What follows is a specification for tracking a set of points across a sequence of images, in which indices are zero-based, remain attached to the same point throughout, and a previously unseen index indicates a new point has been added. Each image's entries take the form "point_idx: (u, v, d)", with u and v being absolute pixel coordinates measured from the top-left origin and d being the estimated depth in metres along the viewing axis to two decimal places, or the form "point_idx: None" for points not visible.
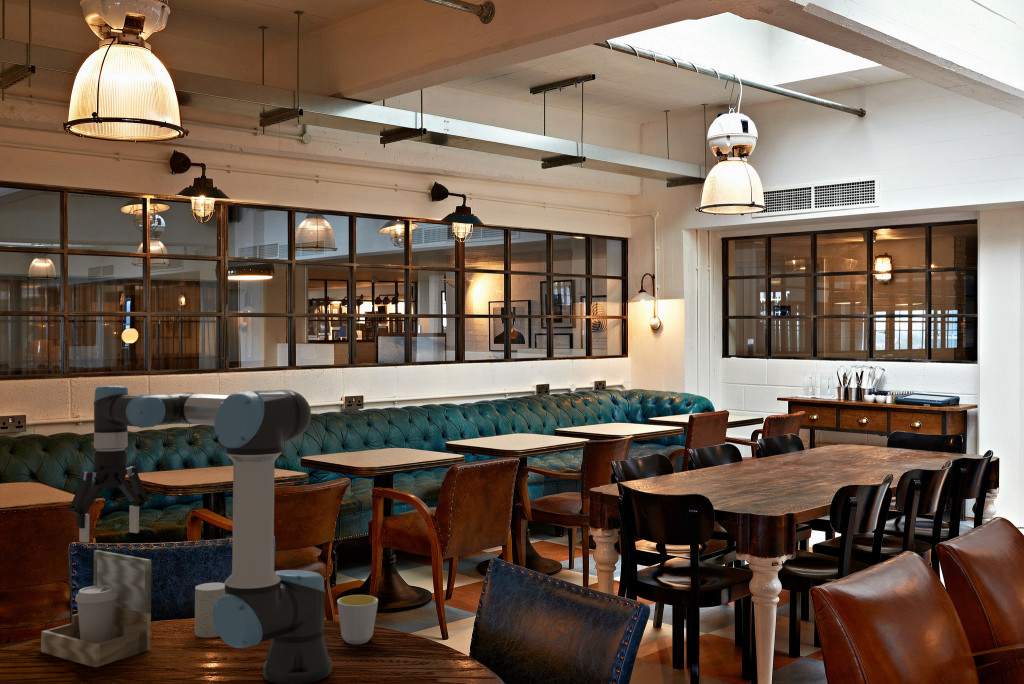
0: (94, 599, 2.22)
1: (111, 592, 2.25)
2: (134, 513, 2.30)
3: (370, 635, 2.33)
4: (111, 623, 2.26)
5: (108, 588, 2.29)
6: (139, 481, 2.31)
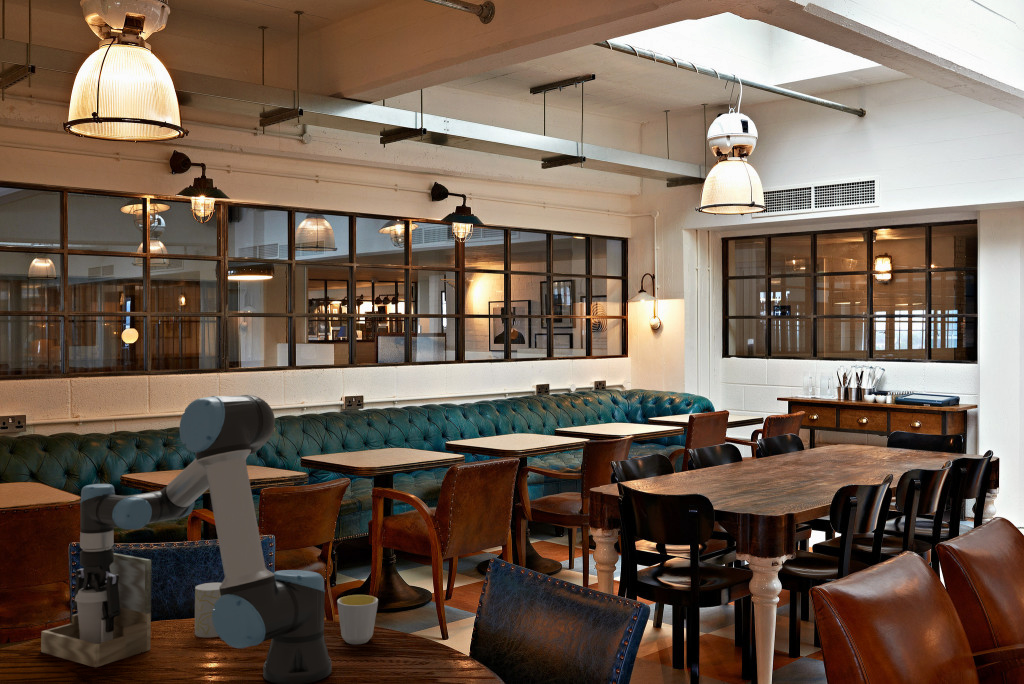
0: (94, 599, 2.22)
1: None
2: None
3: (370, 635, 2.33)
4: None
5: None
6: (108, 592, 2.22)
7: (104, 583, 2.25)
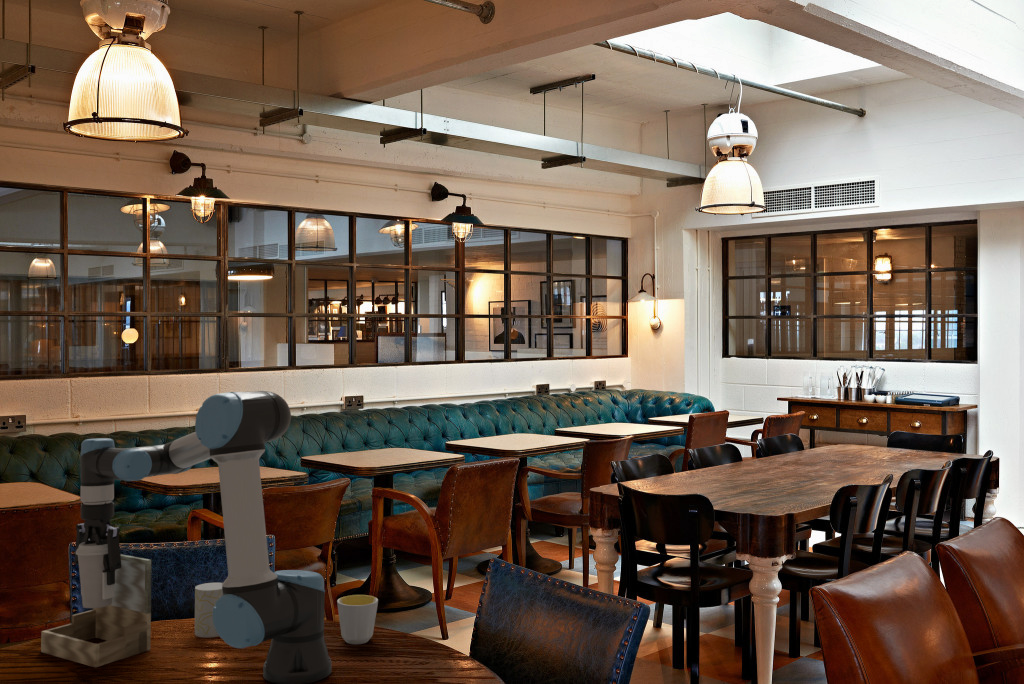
0: (95, 551, 2.22)
1: None
2: None
3: (370, 635, 2.33)
4: None
5: None
6: (109, 545, 2.22)
7: (105, 536, 2.25)
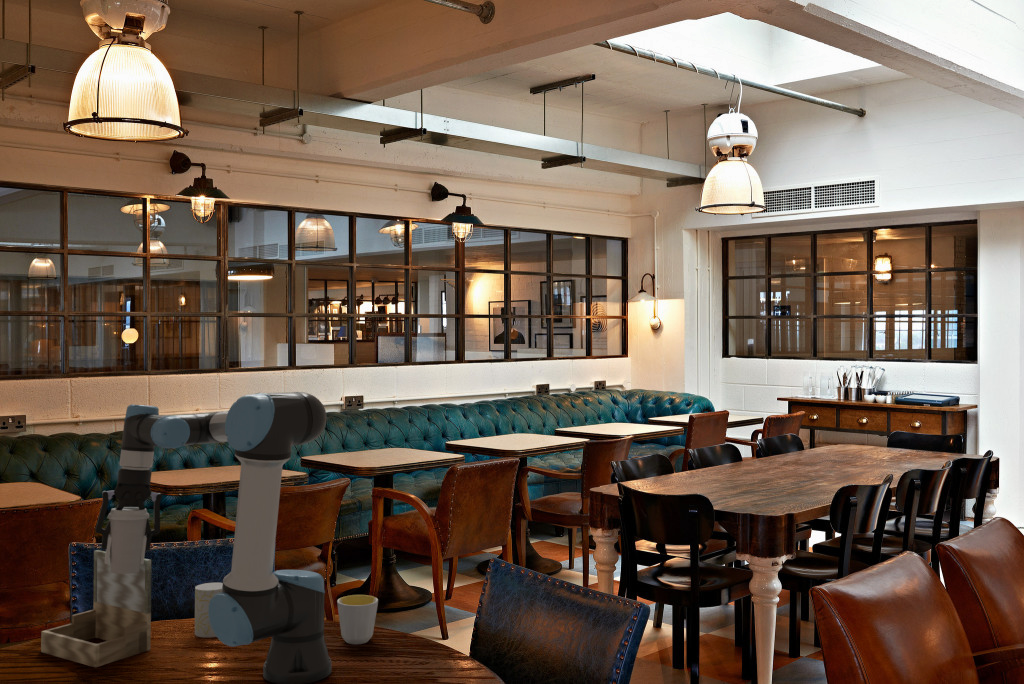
0: (144, 515, 2.24)
1: None
2: None
3: (370, 635, 2.33)
4: None
5: (128, 509, 2.28)
6: (158, 510, 2.27)
7: None
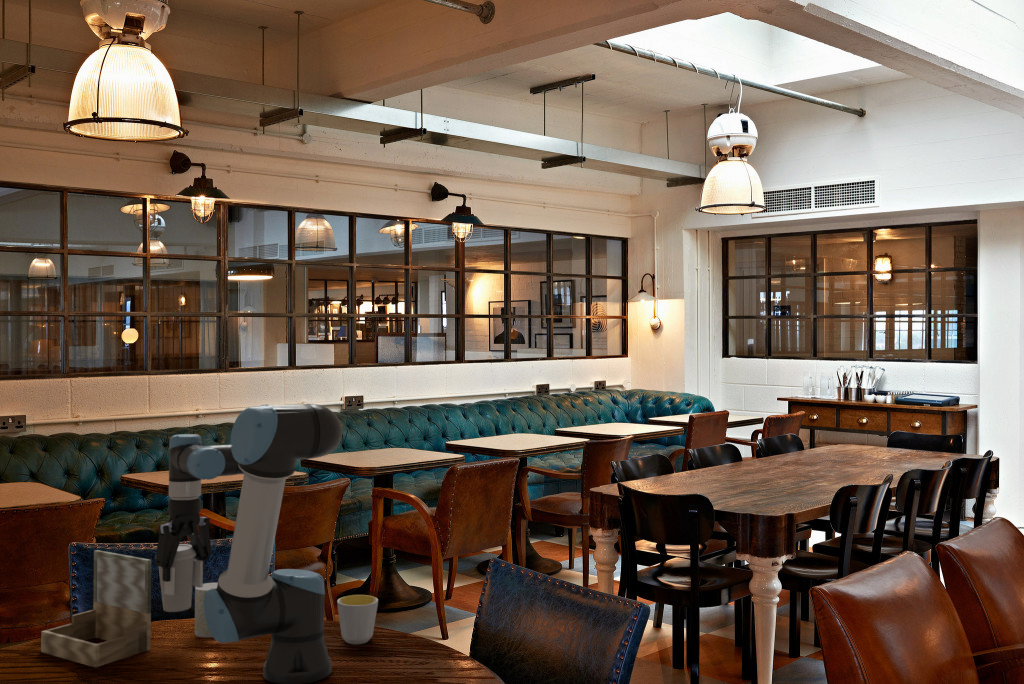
0: None
1: None
2: (198, 568, 2.31)
3: (370, 635, 2.33)
4: None
5: None
6: (208, 533, 2.33)
7: None
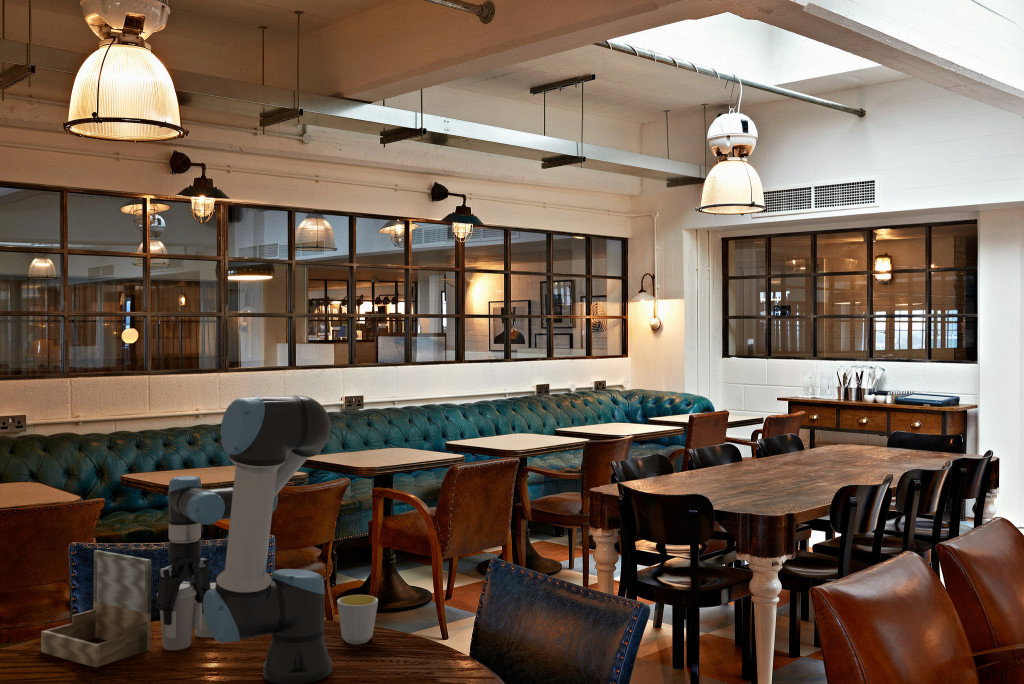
0: None
1: None
2: (197, 610, 2.31)
3: (370, 635, 2.33)
4: None
5: None
6: (207, 574, 2.33)
7: None
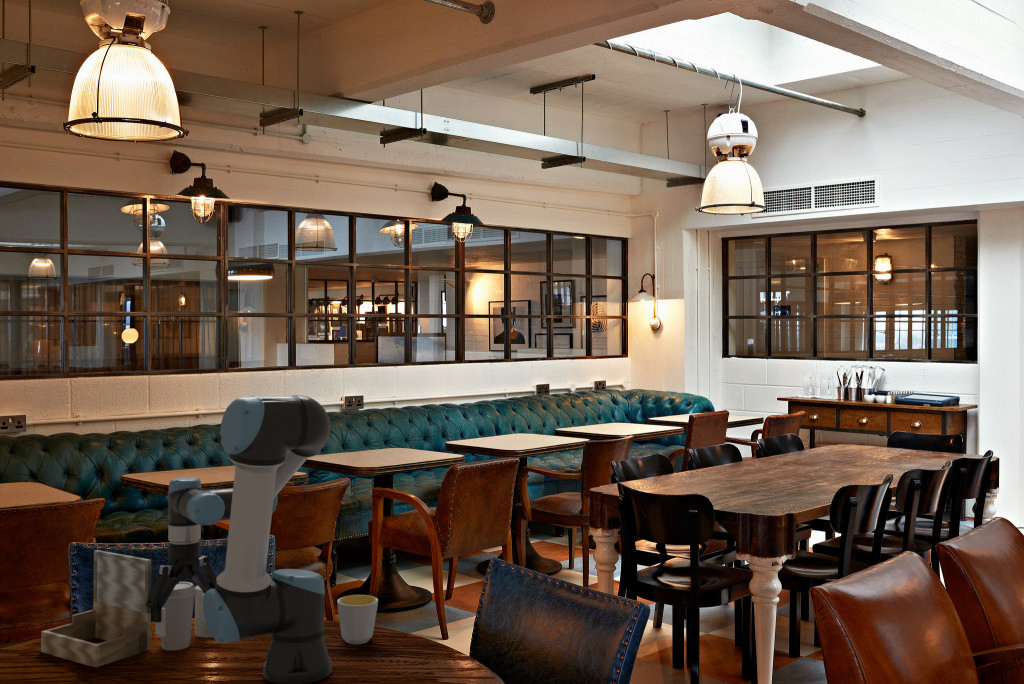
0: None
1: None
2: None
3: (370, 635, 2.33)
4: None
5: None
6: (211, 570, 2.33)
7: None
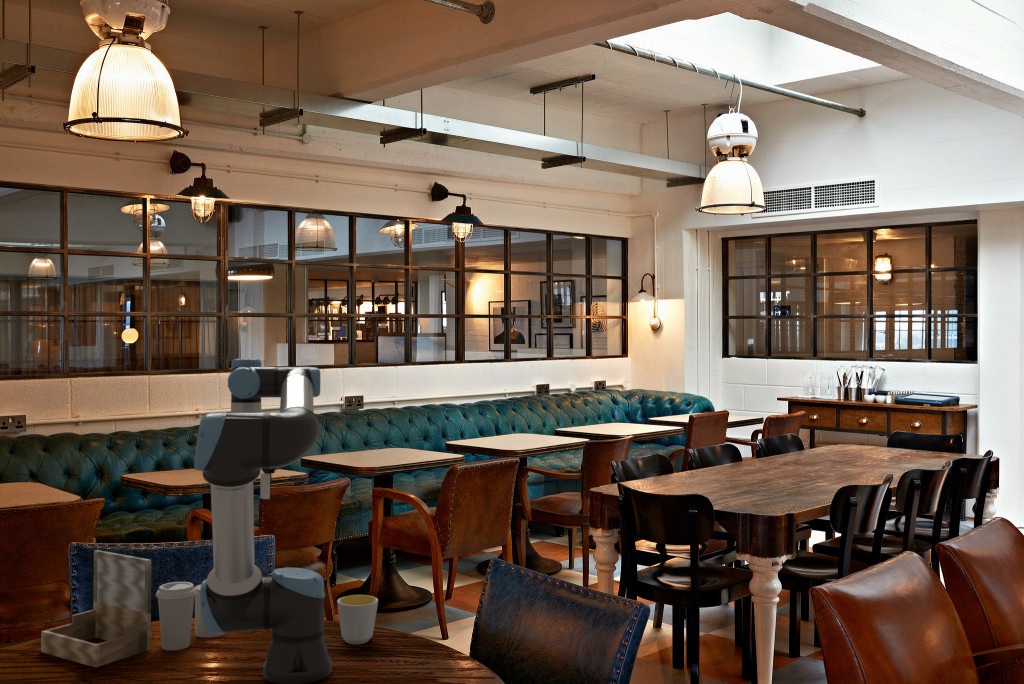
0: None
1: None
2: (265, 480, 2.42)
3: (370, 635, 2.33)
4: None
5: None
6: None
7: None
